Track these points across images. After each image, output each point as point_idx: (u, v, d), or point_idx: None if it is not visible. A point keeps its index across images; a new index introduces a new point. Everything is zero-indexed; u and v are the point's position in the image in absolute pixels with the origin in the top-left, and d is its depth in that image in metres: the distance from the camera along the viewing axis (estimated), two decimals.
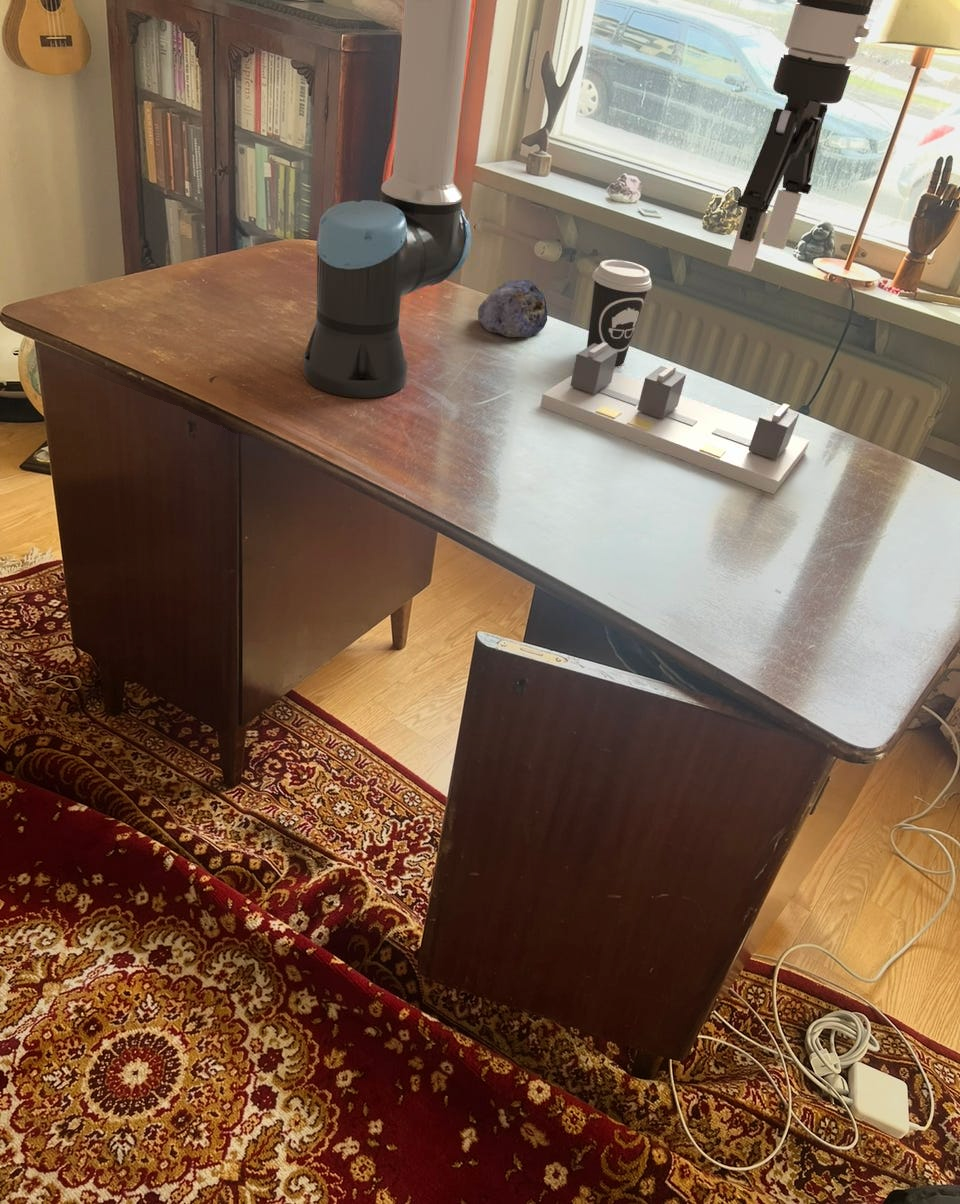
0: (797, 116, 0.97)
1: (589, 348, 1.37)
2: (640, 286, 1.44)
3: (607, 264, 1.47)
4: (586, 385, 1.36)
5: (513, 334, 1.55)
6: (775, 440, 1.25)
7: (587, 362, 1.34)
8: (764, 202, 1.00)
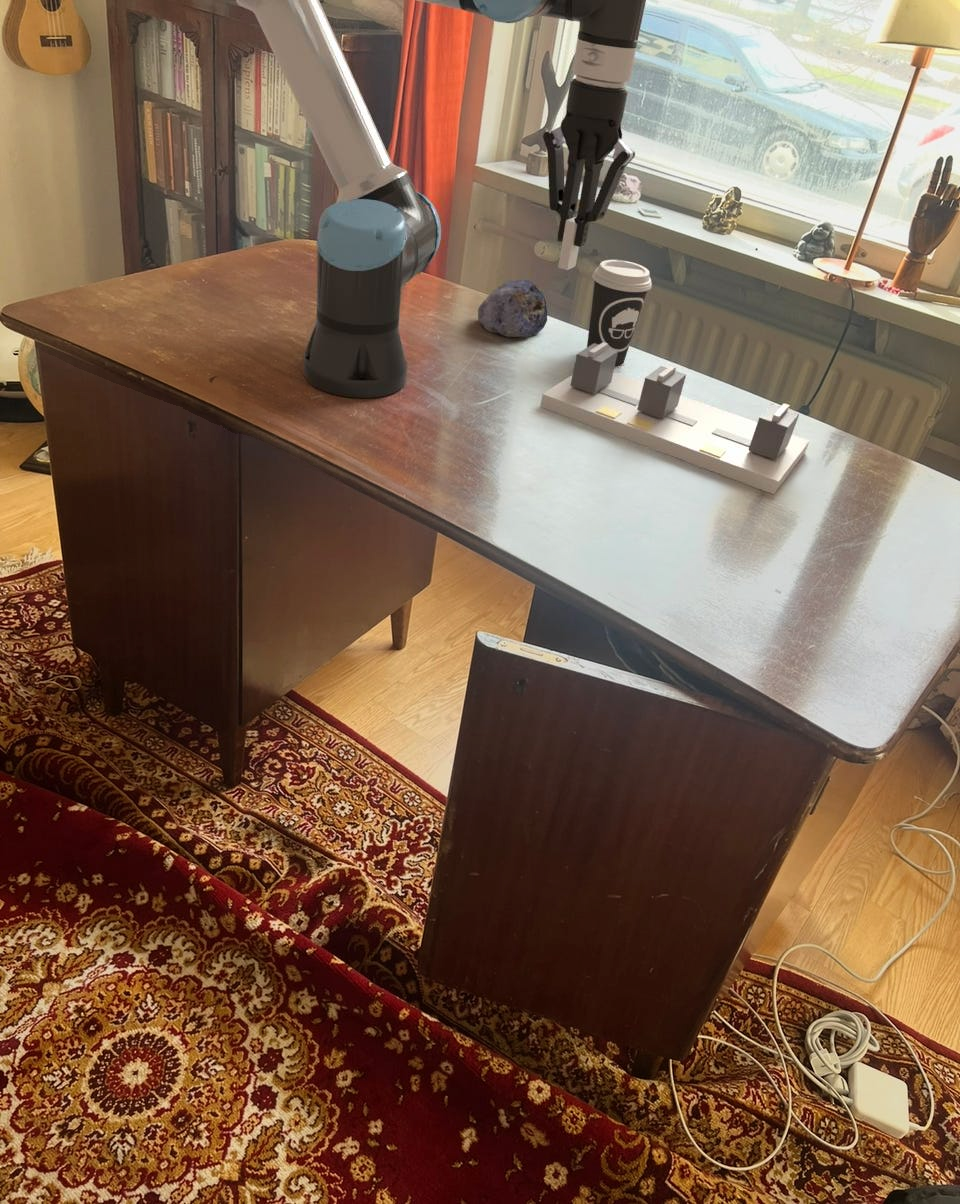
0: (544, 135, 1.24)
1: (589, 348, 1.37)
2: (640, 286, 1.44)
3: (607, 264, 1.47)
4: (586, 385, 1.36)
5: (513, 334, 1.55)
6: (775, 440, 1.25)
7: (587, 362, 1.34)
8: (551, 205, 1.28)
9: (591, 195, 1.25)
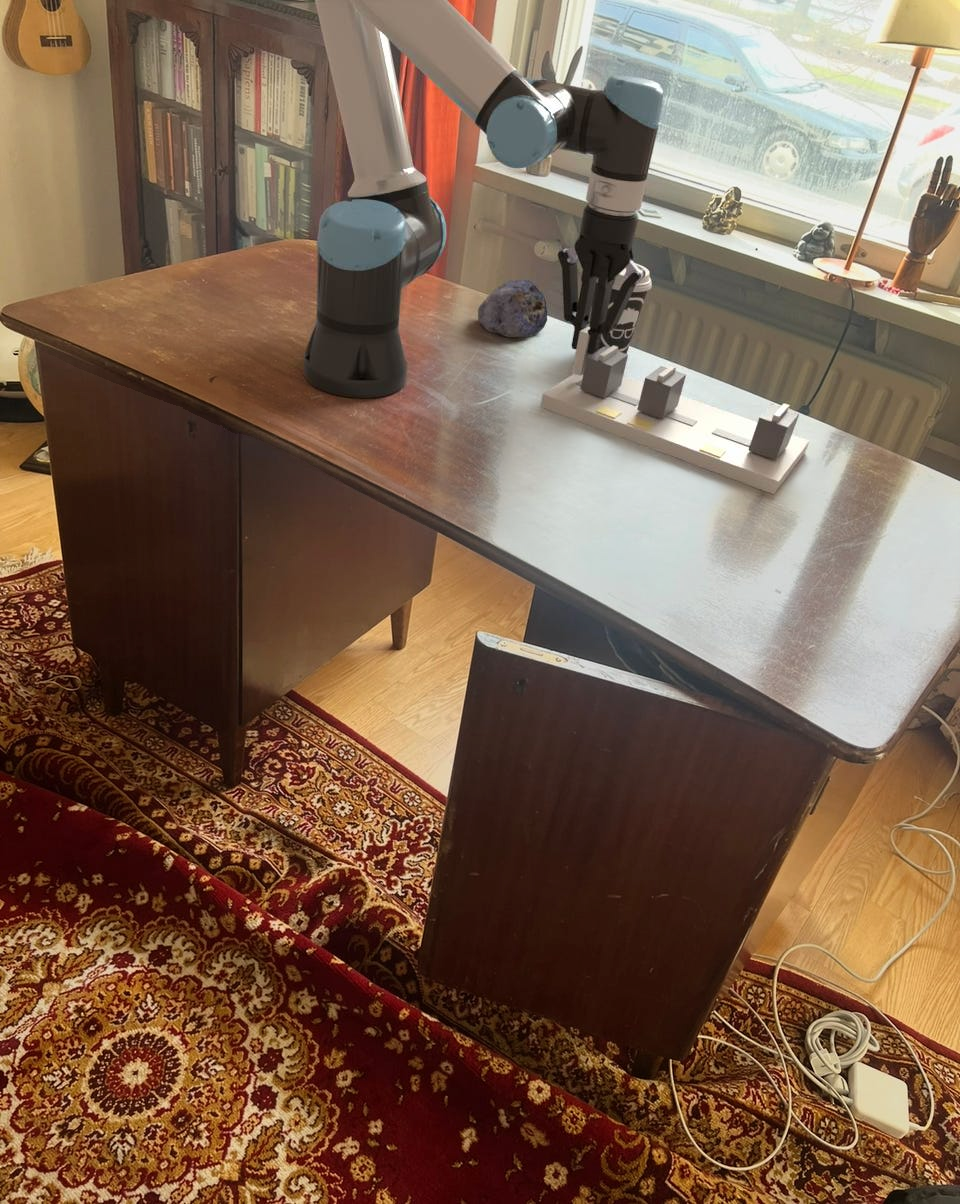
0: (559, 253, 1.31)
1: (599, 351, 1.36)
2: (640, 286, 1.44)
3: None
4: (596, 389, 1.36)
5: (513, 334, 1.55)
6: (775, 440, 1.25)
7: (597, 365, 1.34)
8: (565, 317, 1.35)
9: (603, 309, 1.32)
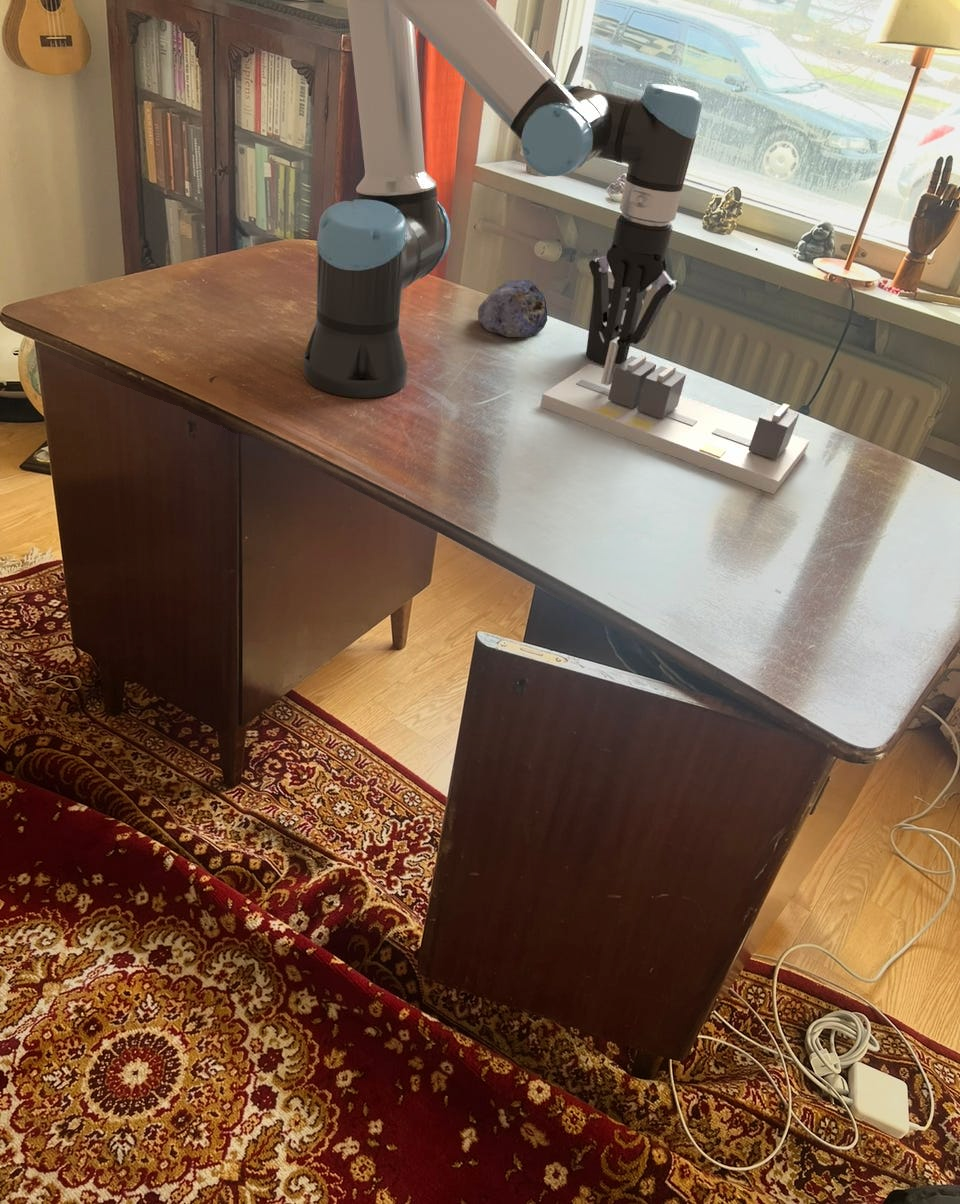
0: (590, 263, 1.29)
1: (627, 361, 1.35)
2: None
3: None
4: (624, 399, 1.34)
5: (513, 334, 1.55)
6: (775, 440, 1.25)
7: (626, 375, 1.32)
8: (596, 327, 1.33)
9: (634, 319, 1.31)
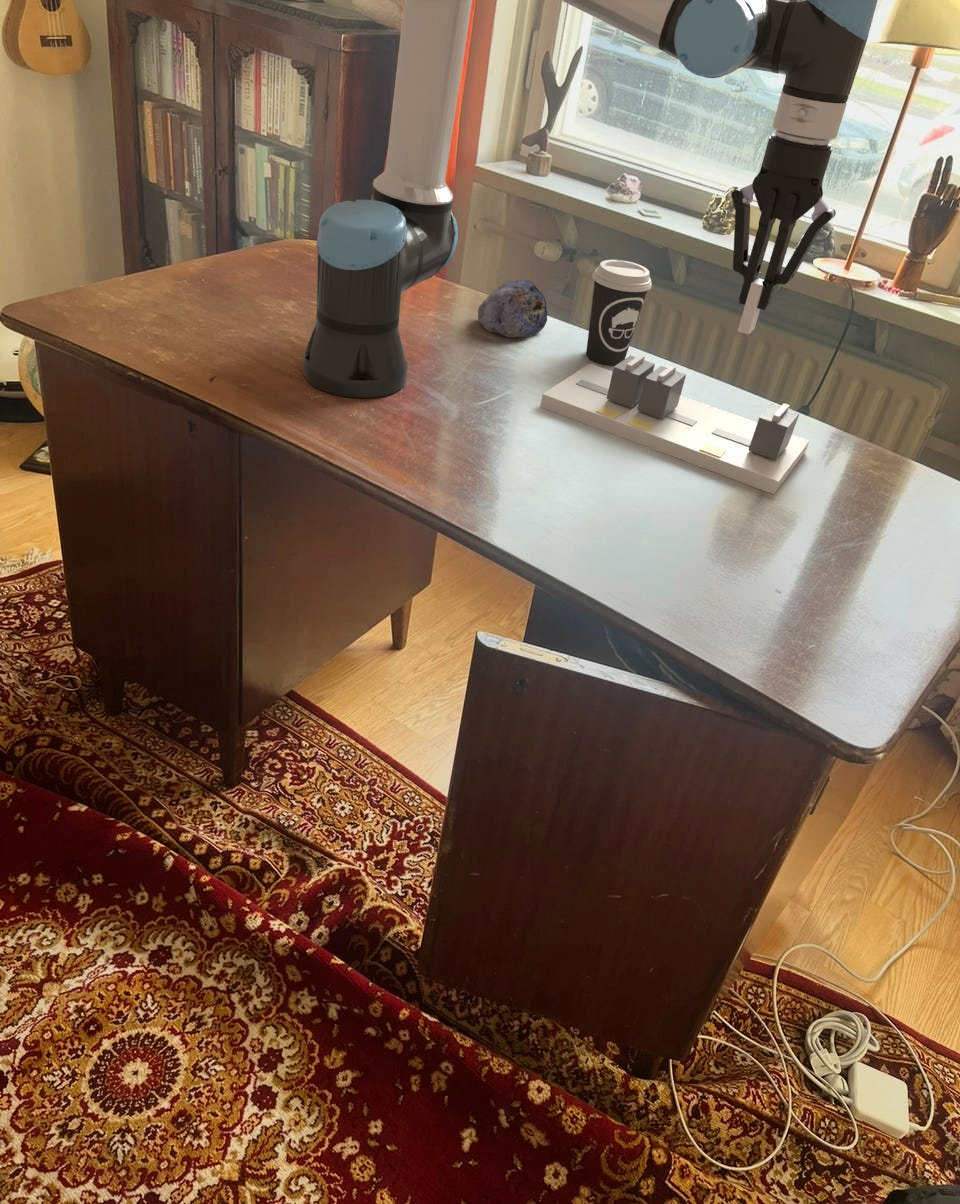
0: (733, 193, 1.15)
1: (626, 361, 1.35)
2: (640, 286, 1.44)
3: (607, 264, 1.47)
4: (623, 398, 1.34)
5: (513, 334, 1.55)
6: (775, 440, 1.25)
7: (624, 375, 1.32)
8: (735, 266, 1.19)
9: (782, 256, 1.17)
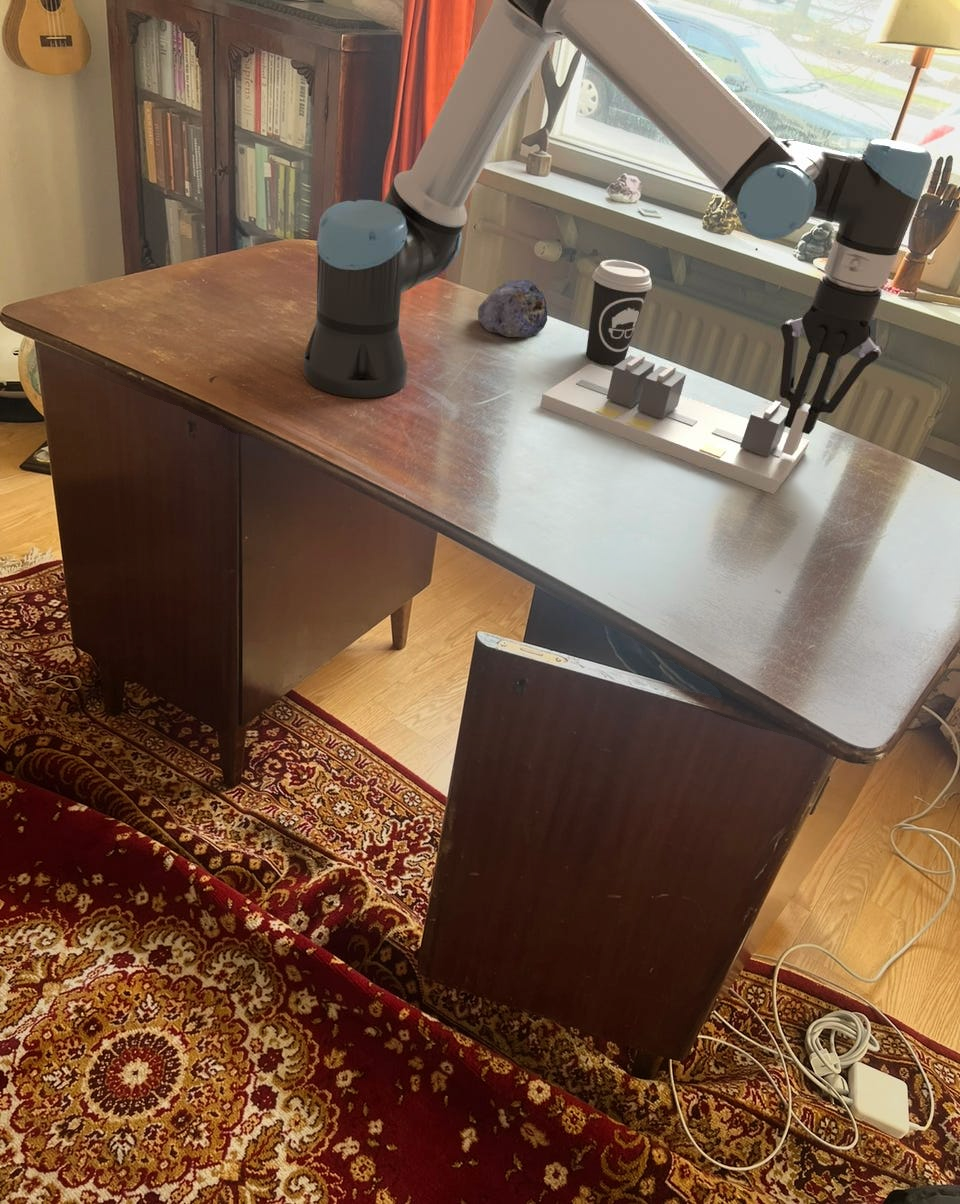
0: (783, 326, 1.19)
1: (626, 361, 1.35)
2: (640, 286, 1.44)
3: (607, 264, 1.47)
4: (623, 398, 1.34)
5: (513, 334, 1.55)
6: (766, 437, 1.26)
7: (624, 375, 1.32)
8: (782, 393, 1.24)
9: (828, 387, 1.21)
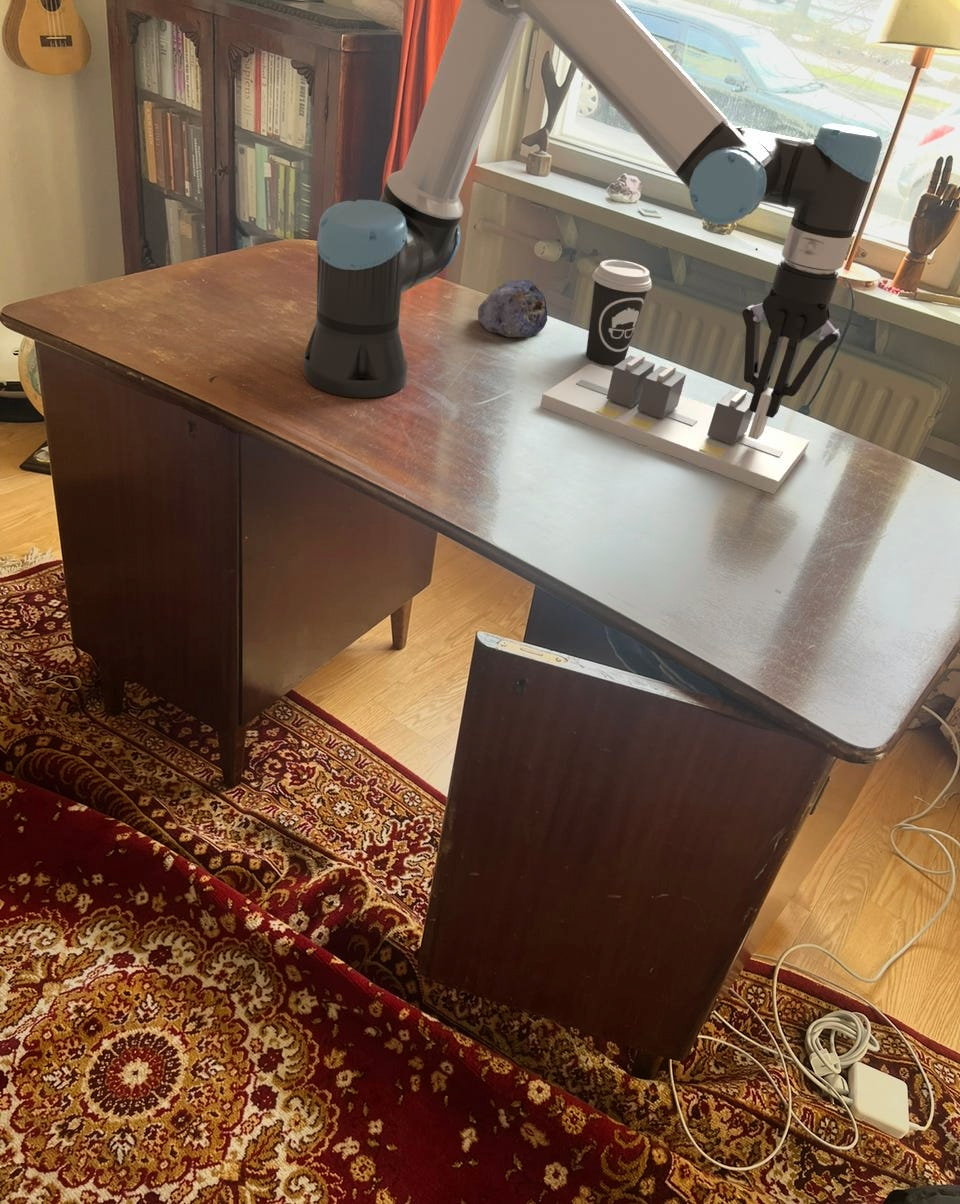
0: (744, 312, 1.21)
1: (626, 361, 1.35)
2: (640, 286, 1.44)
3: (607, 264, 1.47)
4: (623, 398, 1.34)
5: (513, 334, 1.55)
6: (732, 425, 1.27)
7: (624, 375, 1.32)
8: (746, 378, 1.25)
9: (790, 370, 1.23)
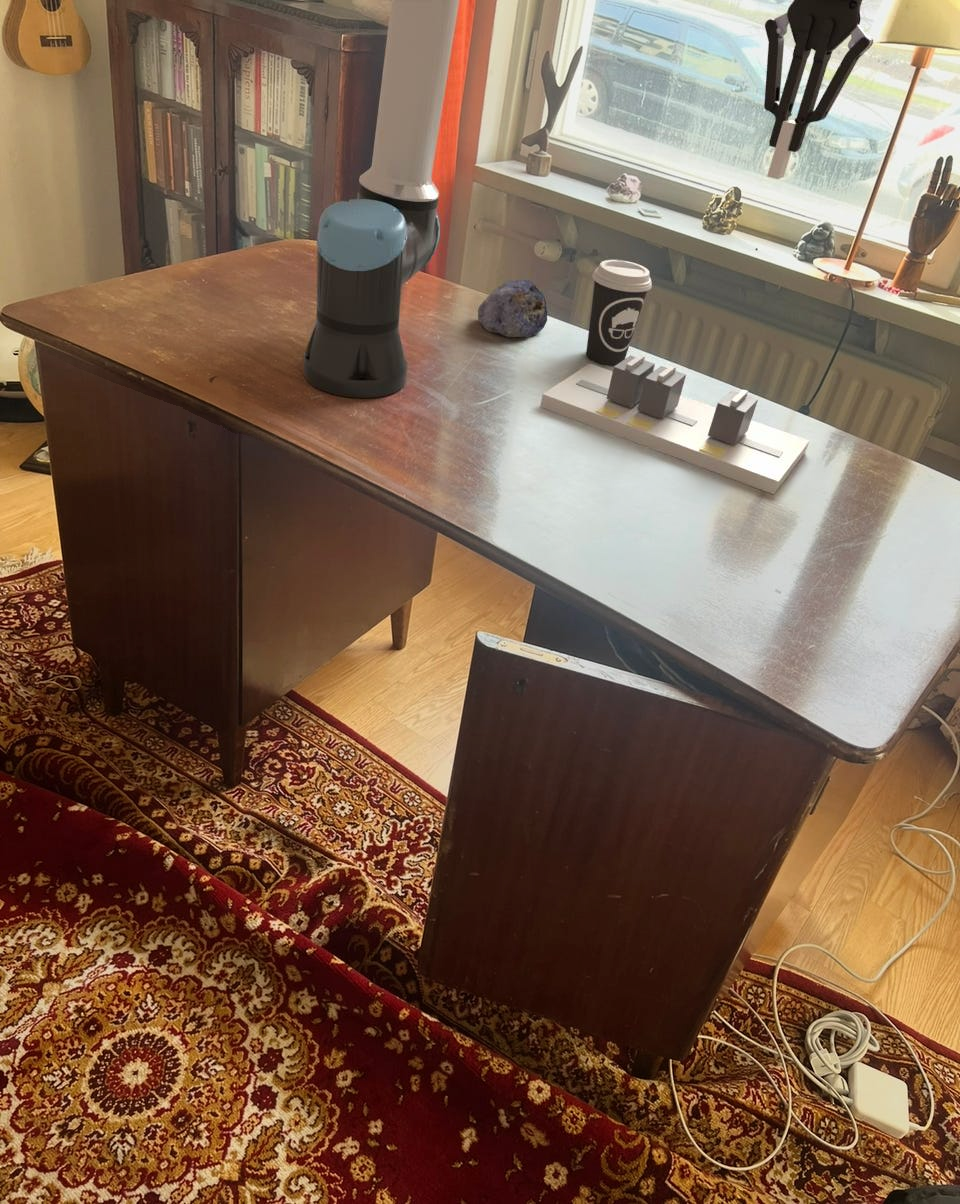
0: (767, 23, 1.12)
1: (626, 361, 1.35)
2: (640, 286, 1.44)
3: (607, 264, 1.47)
4: (623, 398, 1.34)
5: (513, 334, 1.55)
6: (733, 425, 1.27)
7: (624, 375, 1.32)
8: (767, 105, 1.16)
9: (816, 91, 1.13)
